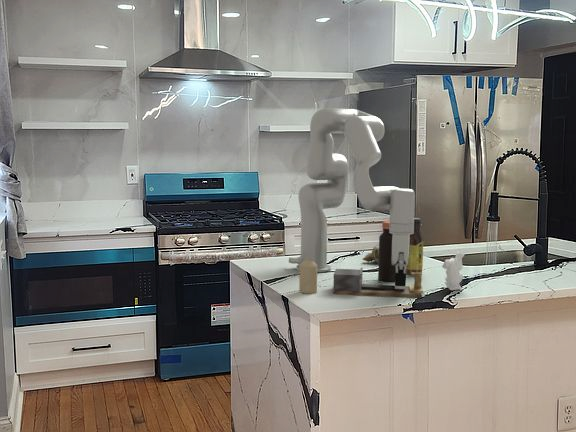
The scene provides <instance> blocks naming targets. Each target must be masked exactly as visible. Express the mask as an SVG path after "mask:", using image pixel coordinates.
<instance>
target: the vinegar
mask: <svg viewBox="0 0 576 432" xmlns="http://www.w3.org/2000/svg"><path fill="white" fill-rule="evenodd" d="M389 226H390V220H384V221H382V227H381V228H382V231H383V232H382V233H381V234H380V235H379V238H378V239H379V240H378V245H379V263H378V268H377V269H378V270H377V272H378V273H377V279H378V281H379V282H385V283H393V282H394V283H395V264H394V266H393V265H392V263H391V259H392V236H393V234H391V233H389Z"/></svg>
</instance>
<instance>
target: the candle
mask: <svg viewBox="0 0 576 432" xmlns="http://www.w3.org/2000/svg"><path fill="white" fill-rule="evenodd" d="M298 282H299V283H298V284H299V287H298V289H299V293H301V294H307V295H309V294H316V293H317V292H318V272H317V264H316V263H315V262H314V261H310V260H305V261H304V262H303V263H301V264H300V271H299V281H298Z"/></svg>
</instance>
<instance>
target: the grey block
mask: <svg viewBox="0 0 576 432" xmlns="http://www.w3.org/2000/svg"><path fill="white" fill-rule="evenodd" d="M395 273H396V265H395ZM361 288H369V289H392V290H405V286H395V285H390V284H389V285H388V284H365V283H362V286H361Z"/></svg>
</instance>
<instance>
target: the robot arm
mask: <svg viewBox="0 0 576 432" xmlns="http://www.w3.org/2000/svg"><path fill="white" fill-rule="evenodd" d="M309 129H310V135H309V136H310V142H309V148H308V154H307V155H308V156H307V164H306V175H307V176H308V178H310V180H314V181H327V182H311V183H306V184H304V185H303V186H301V187H300V189H299V191H298V203H299V210H300V256H297V257H288V263H289V264H297V265H296V267H295V268H296V270H297V271H299V272H300V264H301V263H303V262H304V261H305V260H310V261H314V262H315V263H316V264H317V273H326V272H330V271H331V270H332V268H331V265H329V264H327V261H328V260H327V259H328V258H327V257H328V253H327V251H328V220H327V216H326V214H325V213H324V210H325V209H327V210H328V209H336V208H338V207H340V206H341V205H342V204H343V203H344V201H345V196H346V189H347V183H348V176H349V163H348V162H349V161H348V159H347V158H346V157H345V155H343V154H341V153H334V147H335V142H334V138H333V136H332V134H344V135H345V137H346V140H347V143H348V145H349V147H350V151H351V152H352V154H353V157H354V160H355V163H356V167H355V169H354V173H353V188H354V190H355V193H356V196H357V199H358V201H359V202H360V204H361V206H362V207H363V208H364V209H365V210H367V211H371V212H372V211H373V212H375V211H389V221H390V226H389V233H391V234H393V236H392V259H391V263H392V265H393V266H394V264H395V265H396V273H395V282H394V286H407V284H406V283H407V281H406V280H407V273H405V266H407V264H408V257H409V242H410V234H414V218H415V205H416V203H415V202H416V201H415V199H416V193H415V191H414V190H413V189H411V188H405V187H404V188H400V187H397V186H391V185H390V186H389V185H388V186H386V185H385V186H373V183H372V180H371V178H370V173H369V172H370V168H371V167H372V166H375V165H376V164H377V163H378V162H379V161H381V159H382V152H381V149H380V148H379V145H378V143H377V142H379V141H381V140H382V139H383V138H384V135H385V132H386V131H385V124H384V123H383V121H382V120H381V119H380V118H379V117H377V116H375V115H373V114H369V113H367V112H364V111H361V110H359V109H353V108H340V107H337V108H335V107H334V108H333V107H329V108H328V107H325V108H321V109H318V110H316V112H315V113H313V115H312V117H311V120H310V127H309Z"/></svg>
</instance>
